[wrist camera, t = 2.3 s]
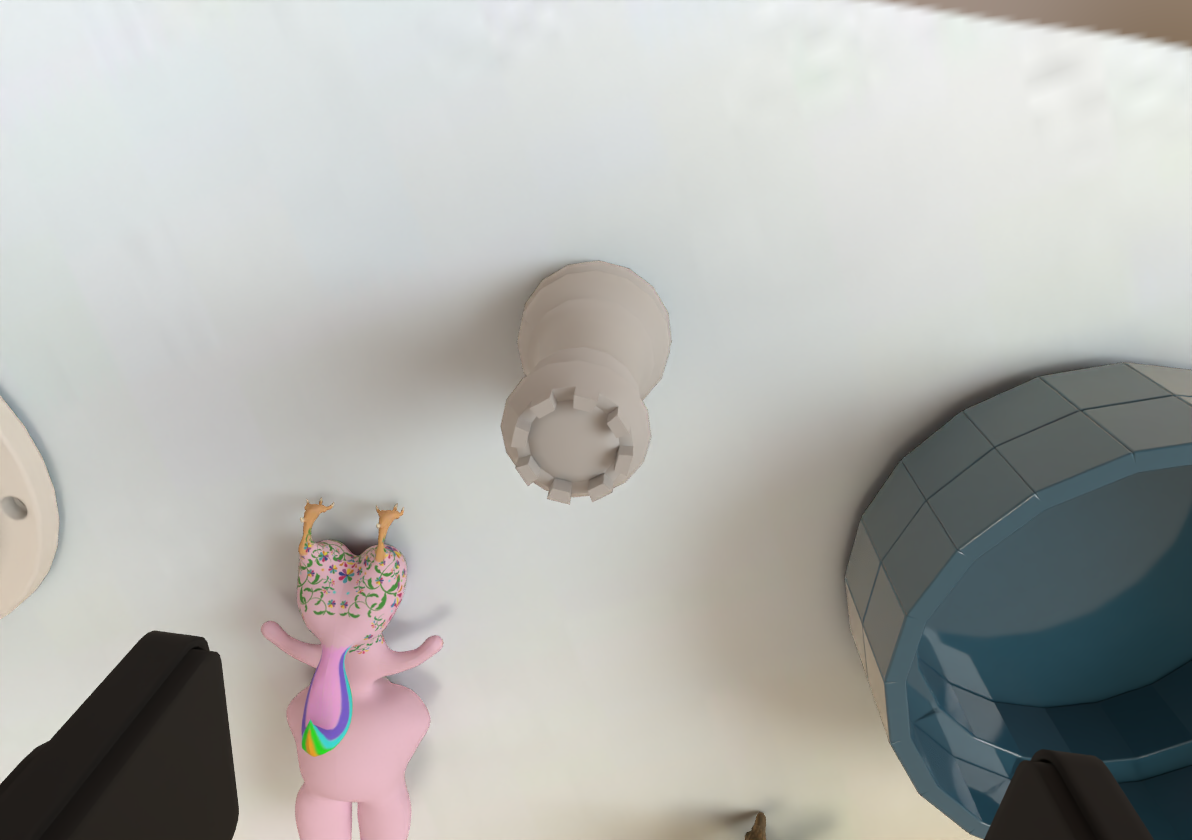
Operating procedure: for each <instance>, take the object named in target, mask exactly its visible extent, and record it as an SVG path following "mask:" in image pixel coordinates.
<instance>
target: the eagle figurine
mask: <svg viewBox="0 0 1192 840" xmlns="http://www.w3.org/2000/svg"><path fill="white" fill-rule="evenodd" d="M765 827H766V817H765V815H764V813H762V812H759V813H758V814H757V816H756V820H755V824H754V826H753V827H752V830H751V831H750V832H747V833H746V835H745V840H766V838H765V837H766V834H765Z"/></svg>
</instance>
